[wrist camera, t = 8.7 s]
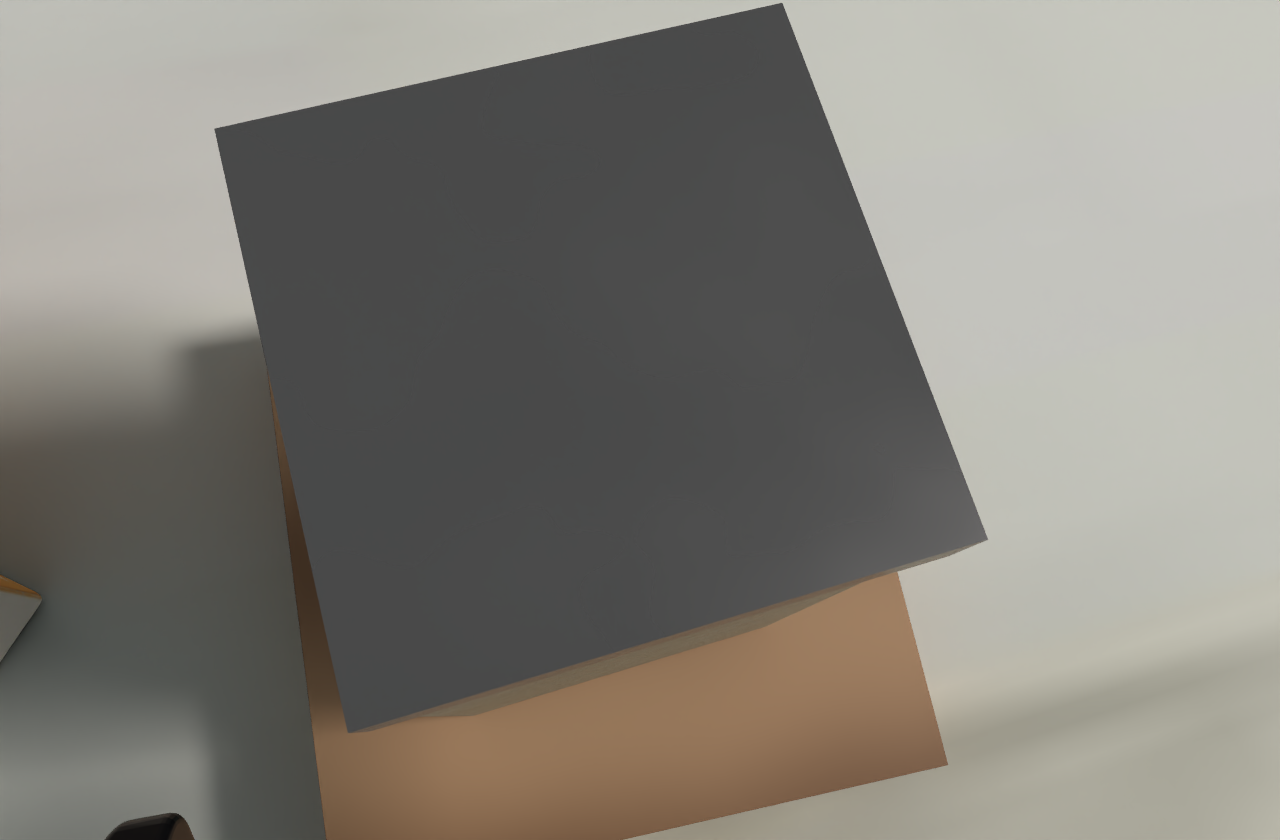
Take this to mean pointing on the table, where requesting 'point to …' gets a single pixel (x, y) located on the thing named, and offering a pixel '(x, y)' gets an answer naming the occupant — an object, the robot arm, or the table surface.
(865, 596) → the walnut block
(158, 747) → the table surface
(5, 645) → the small box
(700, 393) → the tea tin
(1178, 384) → the table surface
